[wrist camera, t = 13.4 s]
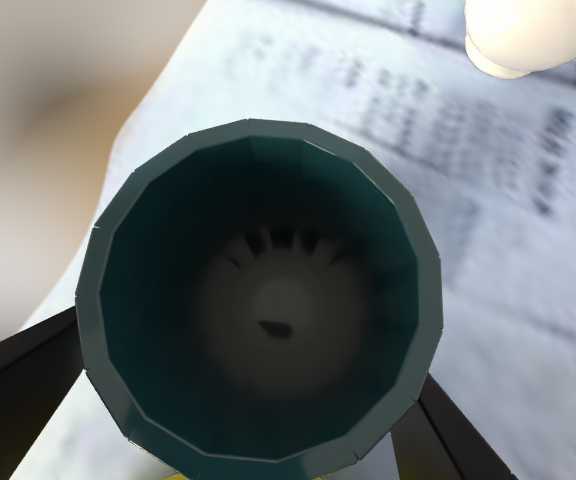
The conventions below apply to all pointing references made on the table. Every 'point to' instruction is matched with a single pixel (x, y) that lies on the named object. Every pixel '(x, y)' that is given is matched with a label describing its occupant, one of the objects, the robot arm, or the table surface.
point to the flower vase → (520, 35)
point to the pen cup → (259, 303)
